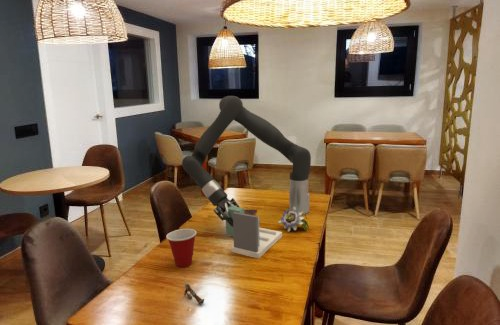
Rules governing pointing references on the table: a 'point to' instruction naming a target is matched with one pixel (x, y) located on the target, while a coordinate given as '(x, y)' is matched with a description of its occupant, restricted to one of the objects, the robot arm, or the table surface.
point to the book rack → (252, 236)
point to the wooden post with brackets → (192, 294)
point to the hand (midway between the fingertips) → (238, 222)
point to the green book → (231, 210)
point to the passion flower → (293, 219)
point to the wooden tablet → (250, 212)
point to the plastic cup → (182, 246)
